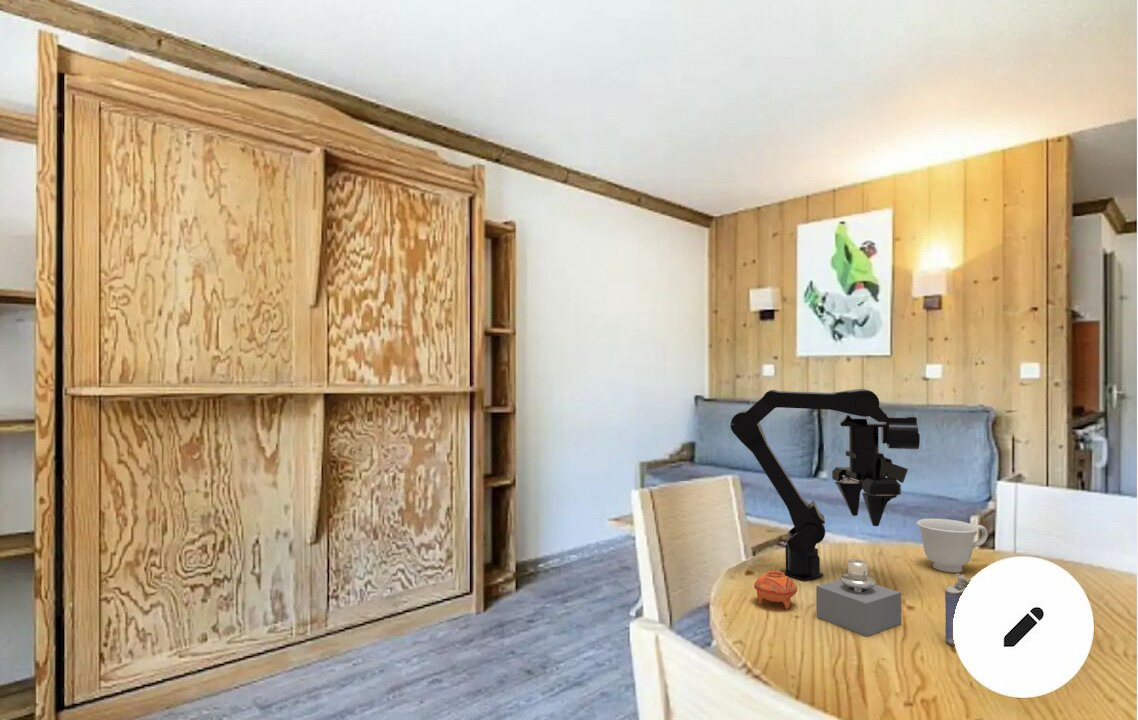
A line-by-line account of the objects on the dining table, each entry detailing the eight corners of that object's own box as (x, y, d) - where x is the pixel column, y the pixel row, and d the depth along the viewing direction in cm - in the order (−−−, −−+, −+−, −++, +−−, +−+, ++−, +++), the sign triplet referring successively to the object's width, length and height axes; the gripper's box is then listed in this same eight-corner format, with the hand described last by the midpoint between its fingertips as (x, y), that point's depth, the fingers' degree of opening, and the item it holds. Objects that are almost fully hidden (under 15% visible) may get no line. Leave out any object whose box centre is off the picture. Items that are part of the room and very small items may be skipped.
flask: (957, 648, 101) (956, 582, 101) (939, 642, 103) (938, 577, 103) (987, 636, 105) (986, 572, 106) (968, 630, 108) (967, 568, 108)
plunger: (829, 616, 114) (829, 560, 114) (853, 609, 117) (852, 554, 117) (863, 630, 108) (863, 570, 108) (887, 621, 111) (886, 563, 111)
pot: (763, 612, 116) (759, 573, 118) (751, 606, 123) (747, 570, 125) (806, 610, 116) (801, 571, 118) (791, 605, 123) (787, 569, 125)
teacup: (1005, 577, 135) (1004, 531, 135) (936, 577, 135) (935, 531, 135) (970, 560, 147) (969, 518, 147) (907, 560, 147) (906, 518, 148)
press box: (816, 616, 114) (816, 586, 114) (850, 606, 119) (850, 576, 119) (866, 636, 105) (866, 603, 106) (901, 624, 111) (900, 592, 111)
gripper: (926, 453, 124) (927, 531, 124) (879, 442, 143) (880, 510, 142) (871, 453, 124) (872, 532, 124) (830, 442, 143) (831, 511, 142)
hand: (864, 520), depth 133 cm, fingers open, 9 cm apart
